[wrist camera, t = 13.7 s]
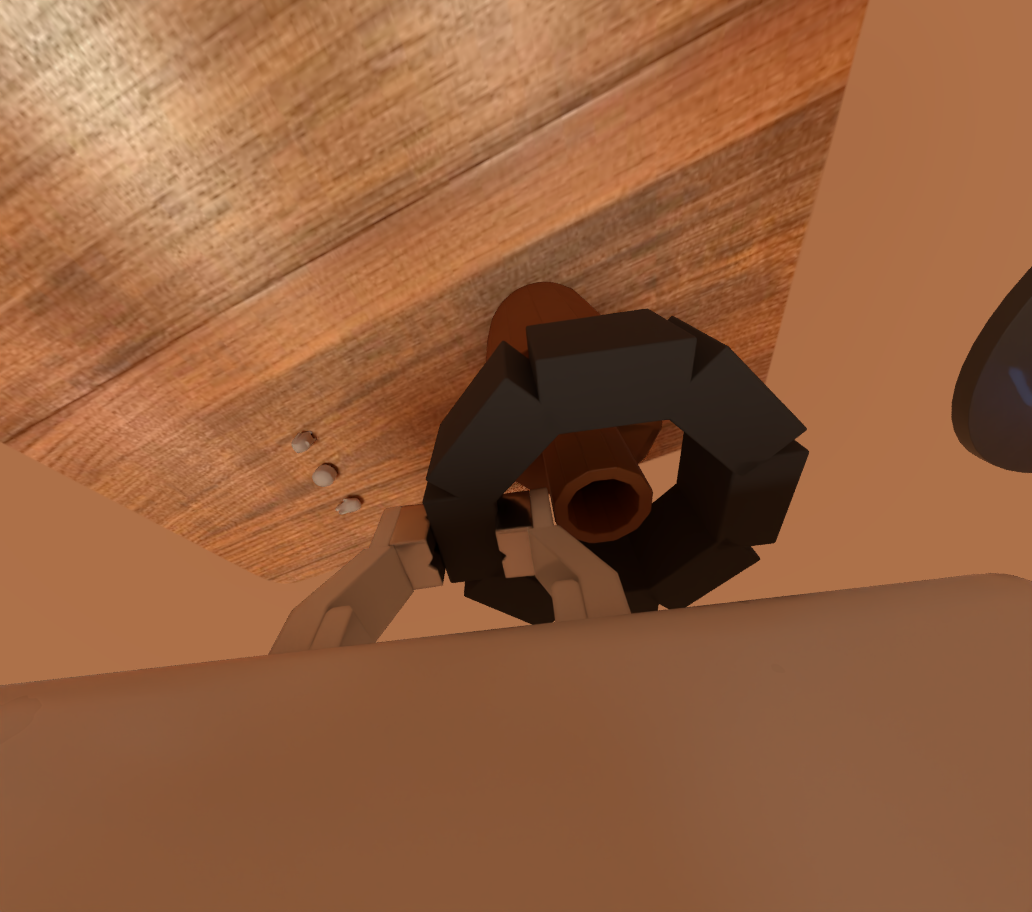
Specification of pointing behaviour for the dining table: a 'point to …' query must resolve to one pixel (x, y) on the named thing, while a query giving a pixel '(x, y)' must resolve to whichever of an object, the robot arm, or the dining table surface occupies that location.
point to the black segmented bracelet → (610, 403)
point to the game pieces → (324, 472)
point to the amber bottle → (580, 435)
